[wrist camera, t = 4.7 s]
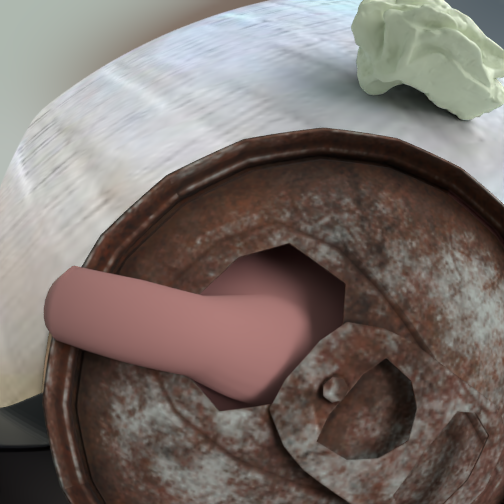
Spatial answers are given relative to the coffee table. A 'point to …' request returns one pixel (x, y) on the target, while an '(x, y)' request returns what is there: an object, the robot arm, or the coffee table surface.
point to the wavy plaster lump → (428, 54)
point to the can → (286, 333)
